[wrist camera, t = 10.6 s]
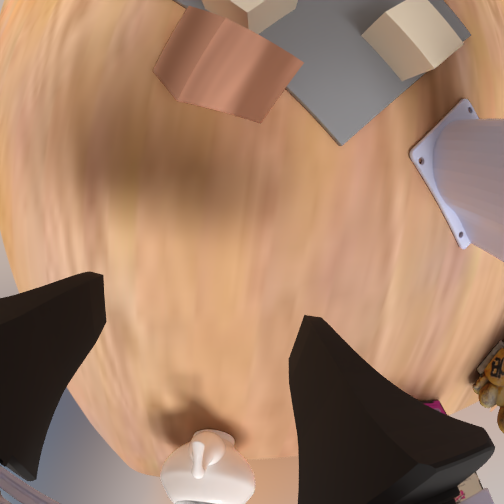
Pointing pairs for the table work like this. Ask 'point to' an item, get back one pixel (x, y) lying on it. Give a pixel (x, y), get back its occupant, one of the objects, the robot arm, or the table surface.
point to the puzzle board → (350, 50)
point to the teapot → (208, 471)
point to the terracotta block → (224, 66)
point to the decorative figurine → (492, 382)
